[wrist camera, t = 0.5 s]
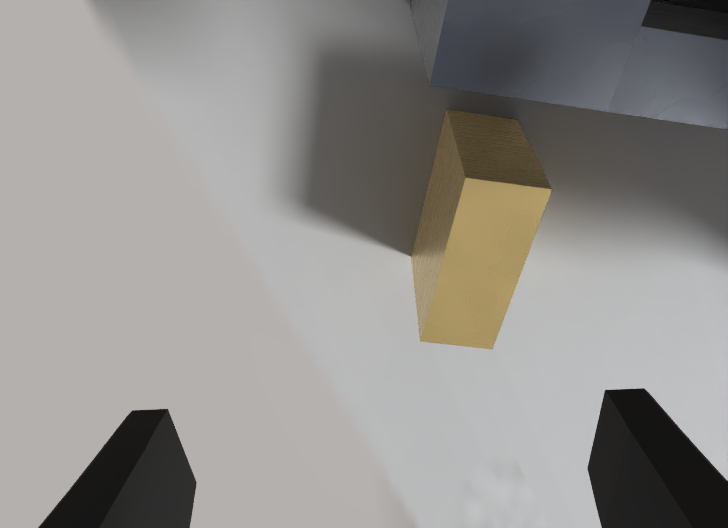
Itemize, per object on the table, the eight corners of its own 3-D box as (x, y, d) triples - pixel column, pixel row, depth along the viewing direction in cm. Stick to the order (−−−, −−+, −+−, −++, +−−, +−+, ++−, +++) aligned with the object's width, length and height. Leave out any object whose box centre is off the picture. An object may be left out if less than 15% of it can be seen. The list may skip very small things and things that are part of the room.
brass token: (516, 118, 17) (551, 189, 14) (471, 263, 20) (492, 349, 17) (446, 108, 17) (465, 178, 14) (410, 255, 20) (420, 341, 17)
